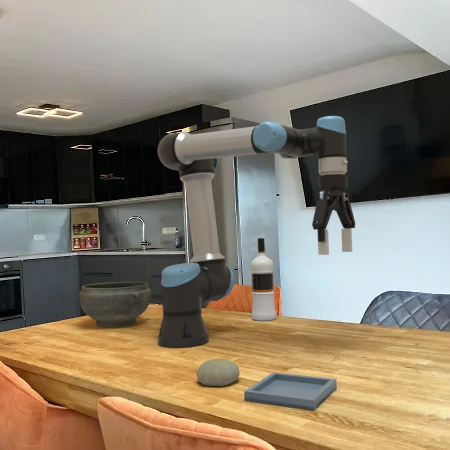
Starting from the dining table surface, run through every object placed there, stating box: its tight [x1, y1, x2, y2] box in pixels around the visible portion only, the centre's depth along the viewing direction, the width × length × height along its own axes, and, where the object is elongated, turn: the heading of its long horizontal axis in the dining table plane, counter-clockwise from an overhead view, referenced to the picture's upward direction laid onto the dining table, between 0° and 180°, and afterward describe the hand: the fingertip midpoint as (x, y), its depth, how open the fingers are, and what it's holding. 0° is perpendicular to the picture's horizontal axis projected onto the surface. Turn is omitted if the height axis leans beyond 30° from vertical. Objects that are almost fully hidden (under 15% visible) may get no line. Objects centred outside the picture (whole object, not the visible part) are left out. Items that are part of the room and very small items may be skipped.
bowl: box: [79, 281, 152, 329], centre depth 189 cm, size 32×26×15 cm
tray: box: [243, 372, 338, 411], centre depth 100 cm, size 14×14×2 cm
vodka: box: [250, 237, 278, 322], centre depth 187 cm, size 9×9×30 cm
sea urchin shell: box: [196, 358, 241, 387], centre depth 111 cm, size 9×8×8 cm
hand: (335, 253), depth 136 cm, fingers open, 13 cm apart
